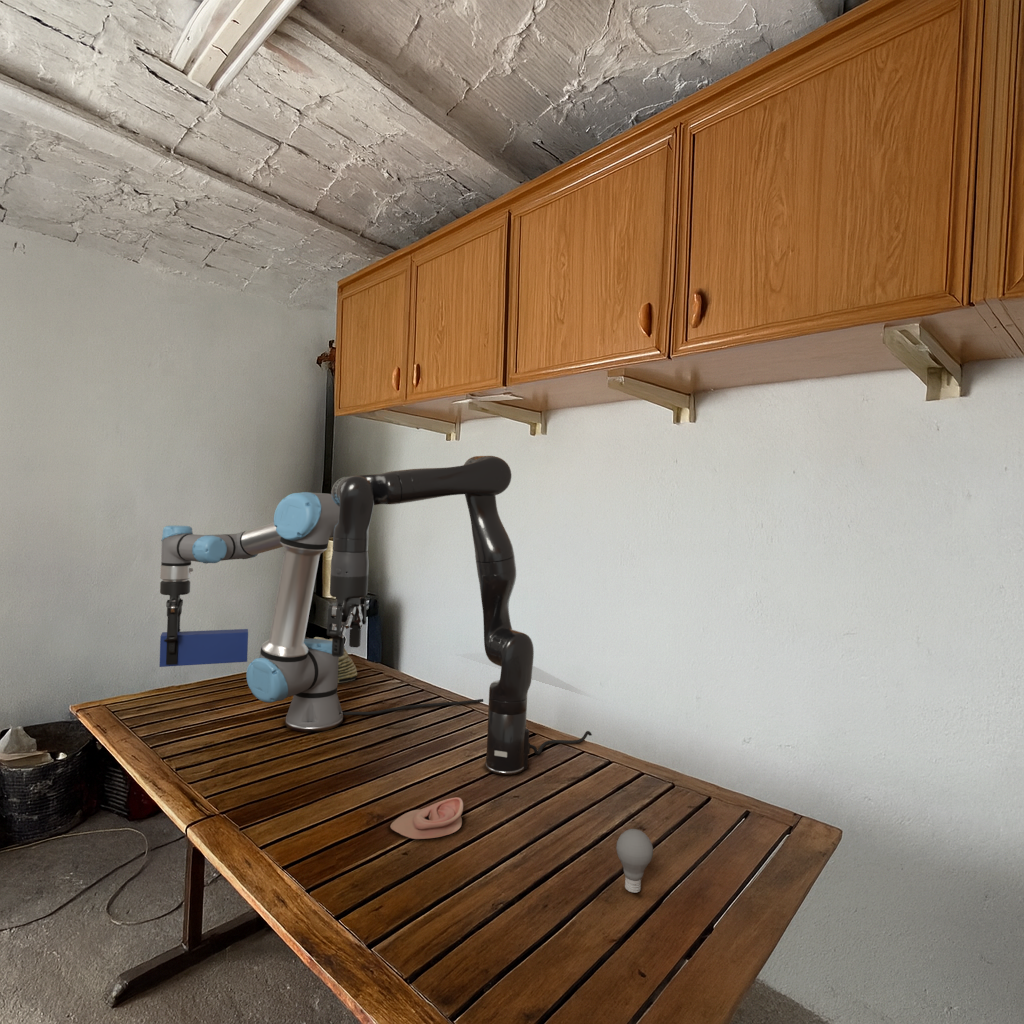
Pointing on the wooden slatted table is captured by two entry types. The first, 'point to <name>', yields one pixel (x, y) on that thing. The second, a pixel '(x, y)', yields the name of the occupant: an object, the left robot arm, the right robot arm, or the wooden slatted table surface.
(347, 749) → the wooden slatted table surface
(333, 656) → the left robot arm
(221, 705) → the wooden slatted table surface
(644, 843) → the light bulb
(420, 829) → the anatomical model
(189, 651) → the bar
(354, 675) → the fossil
